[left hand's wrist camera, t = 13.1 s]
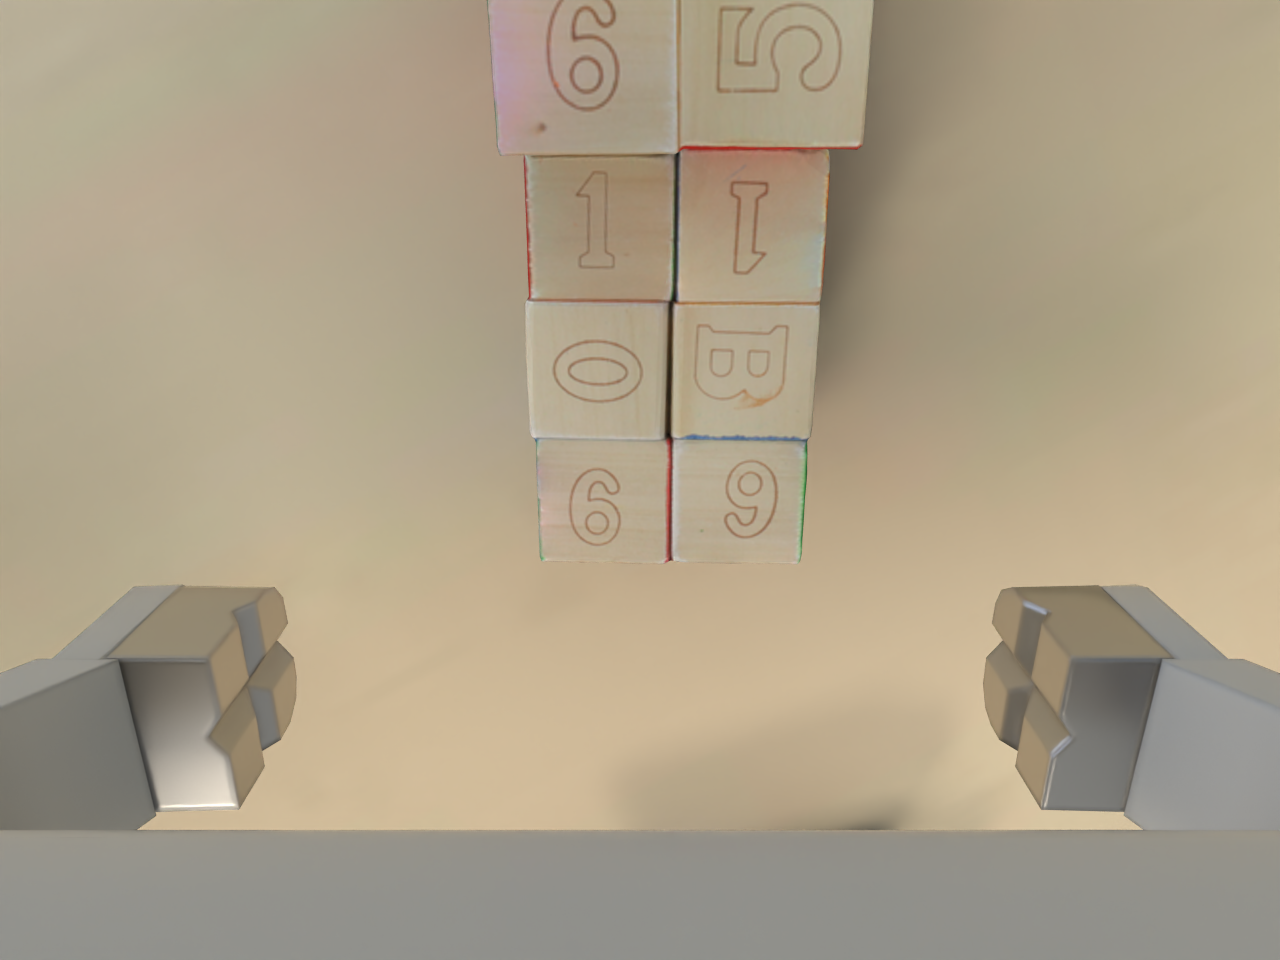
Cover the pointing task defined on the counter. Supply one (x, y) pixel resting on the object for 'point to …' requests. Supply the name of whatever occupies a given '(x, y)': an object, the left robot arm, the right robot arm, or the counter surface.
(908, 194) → the counter surface
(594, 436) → the stack of blocks
